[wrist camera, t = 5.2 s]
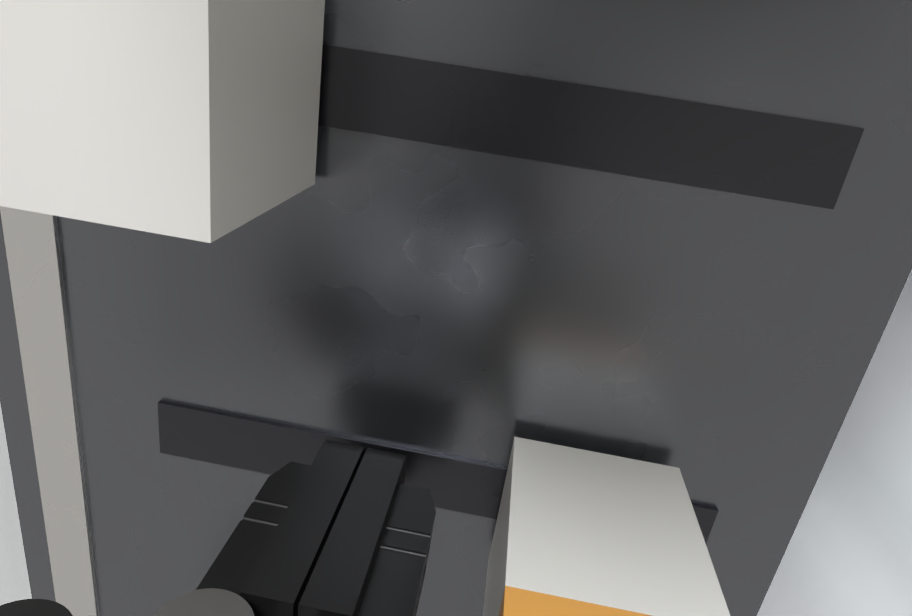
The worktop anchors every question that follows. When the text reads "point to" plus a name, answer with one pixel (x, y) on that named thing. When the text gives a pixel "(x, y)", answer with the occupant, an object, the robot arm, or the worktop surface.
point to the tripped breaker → (596, 539)
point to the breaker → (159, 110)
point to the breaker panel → (484, 288)
